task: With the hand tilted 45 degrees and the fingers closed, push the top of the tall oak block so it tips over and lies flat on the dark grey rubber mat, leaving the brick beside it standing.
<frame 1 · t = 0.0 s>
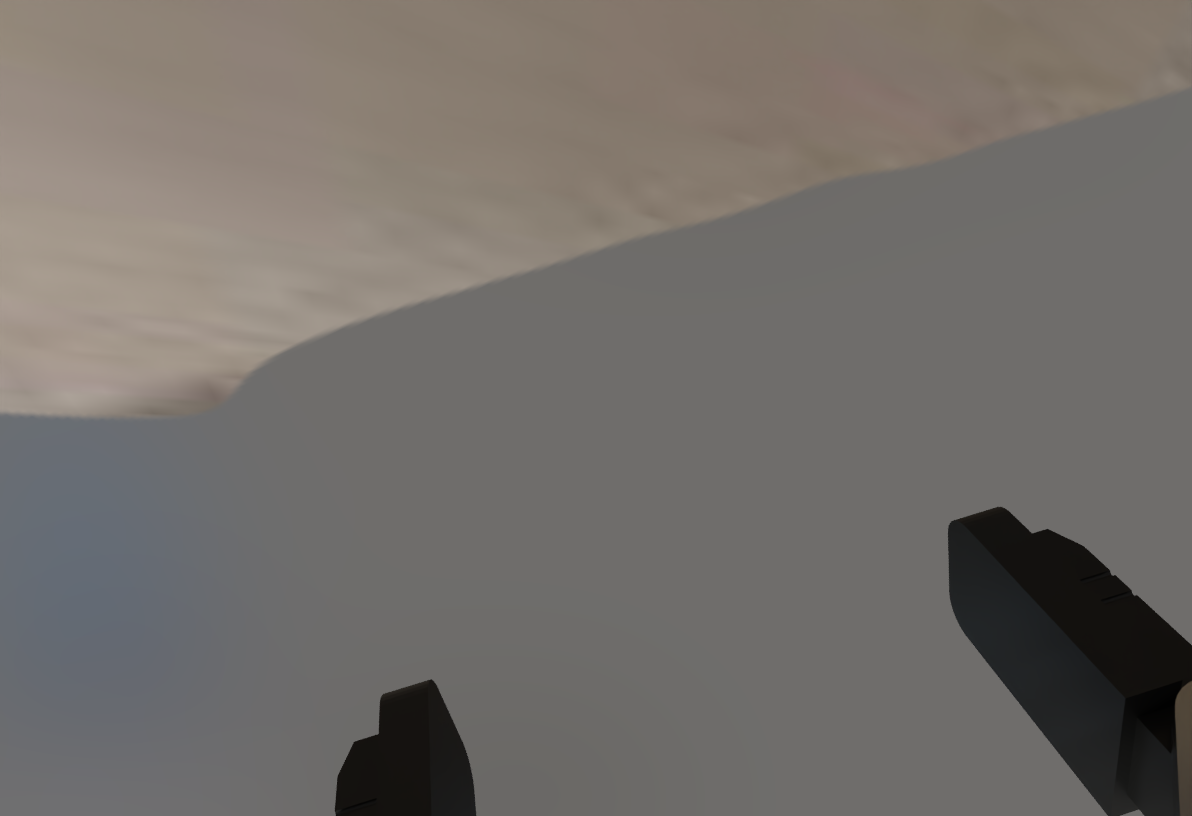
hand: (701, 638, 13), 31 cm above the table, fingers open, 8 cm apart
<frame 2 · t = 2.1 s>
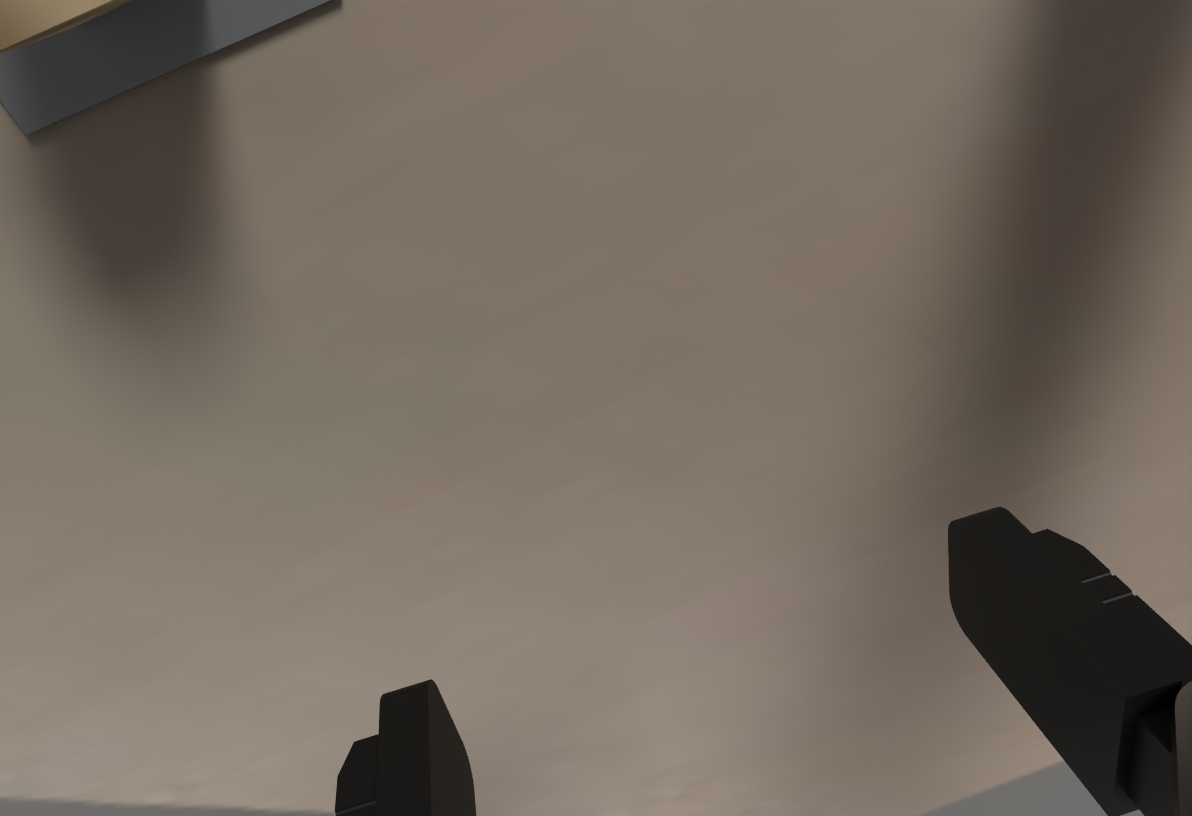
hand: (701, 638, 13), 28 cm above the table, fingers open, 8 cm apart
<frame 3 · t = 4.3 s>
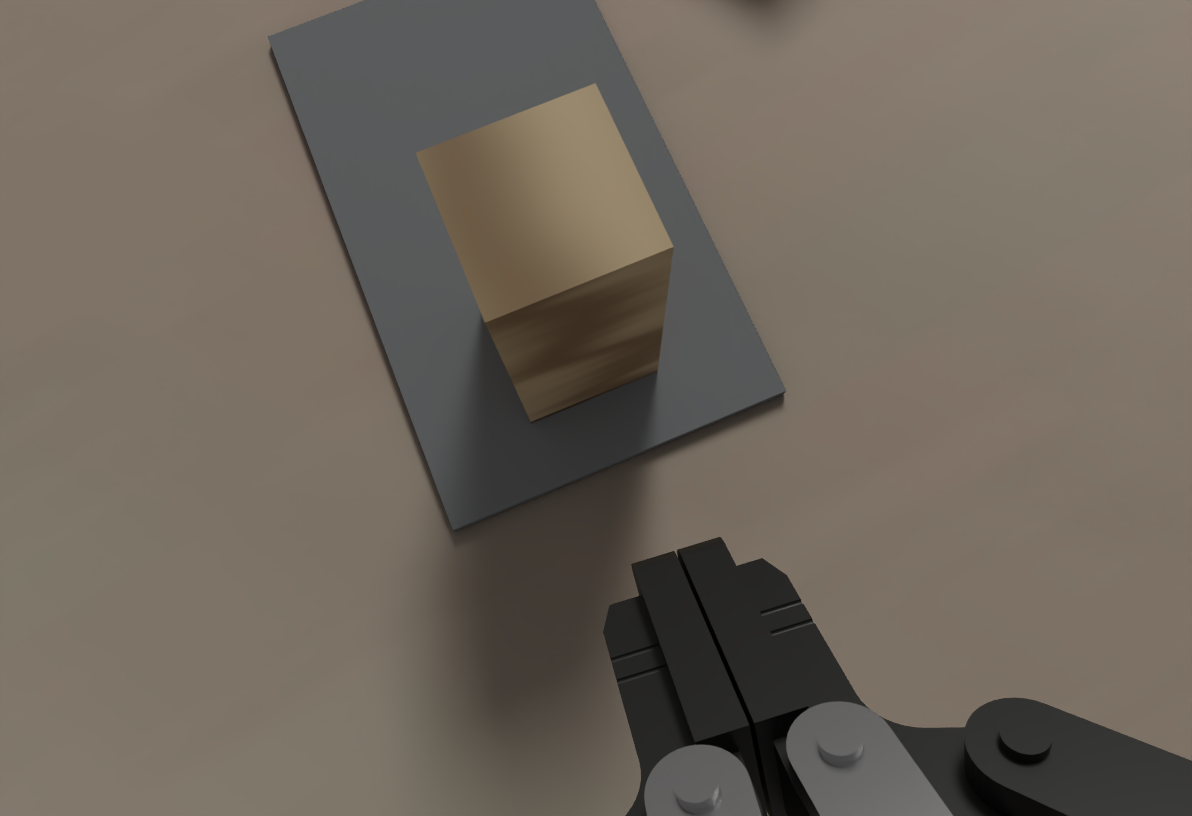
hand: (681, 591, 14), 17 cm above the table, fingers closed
mat: (511, 207, 35), on the table
oak block: (569, 337, 33), resting on mat
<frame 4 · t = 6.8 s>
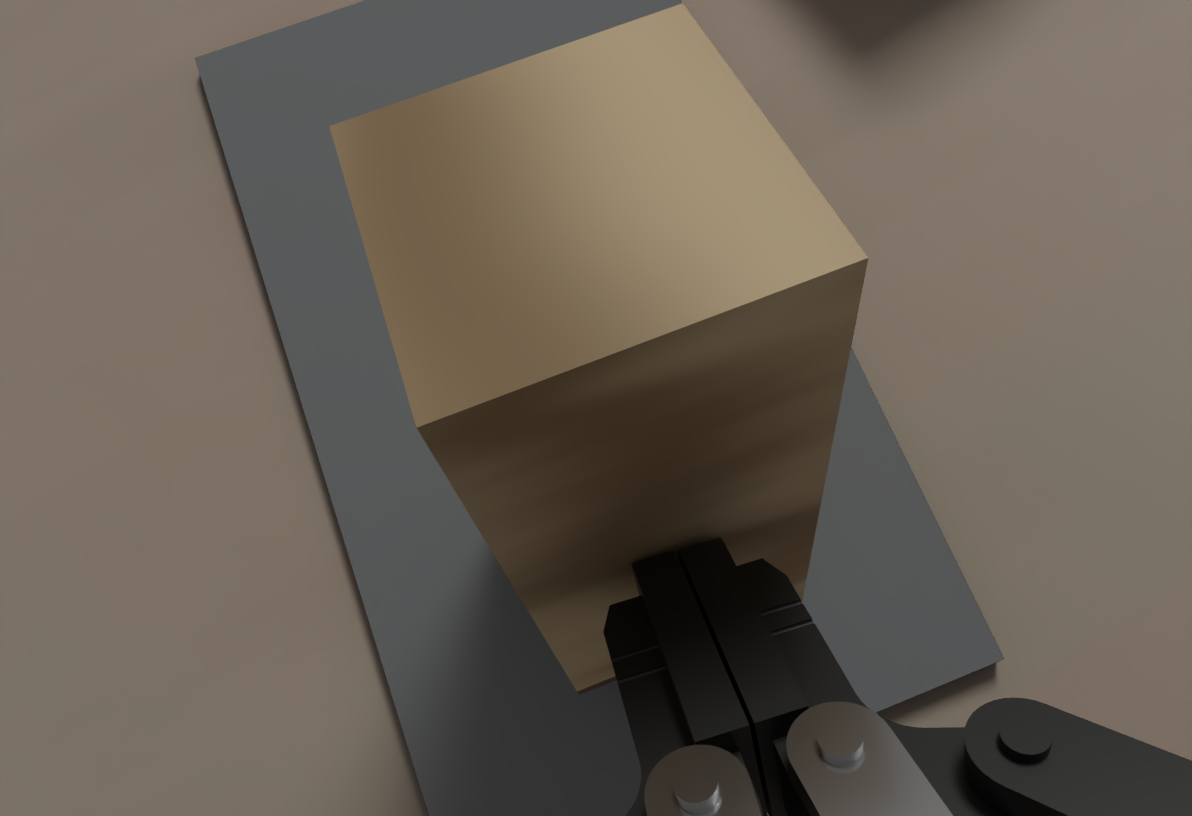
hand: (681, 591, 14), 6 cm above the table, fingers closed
mat: (558, 332, 22), on the table
oak block: (647, 546, 20), point 1 cm above the table, tilted 18°, touching mat
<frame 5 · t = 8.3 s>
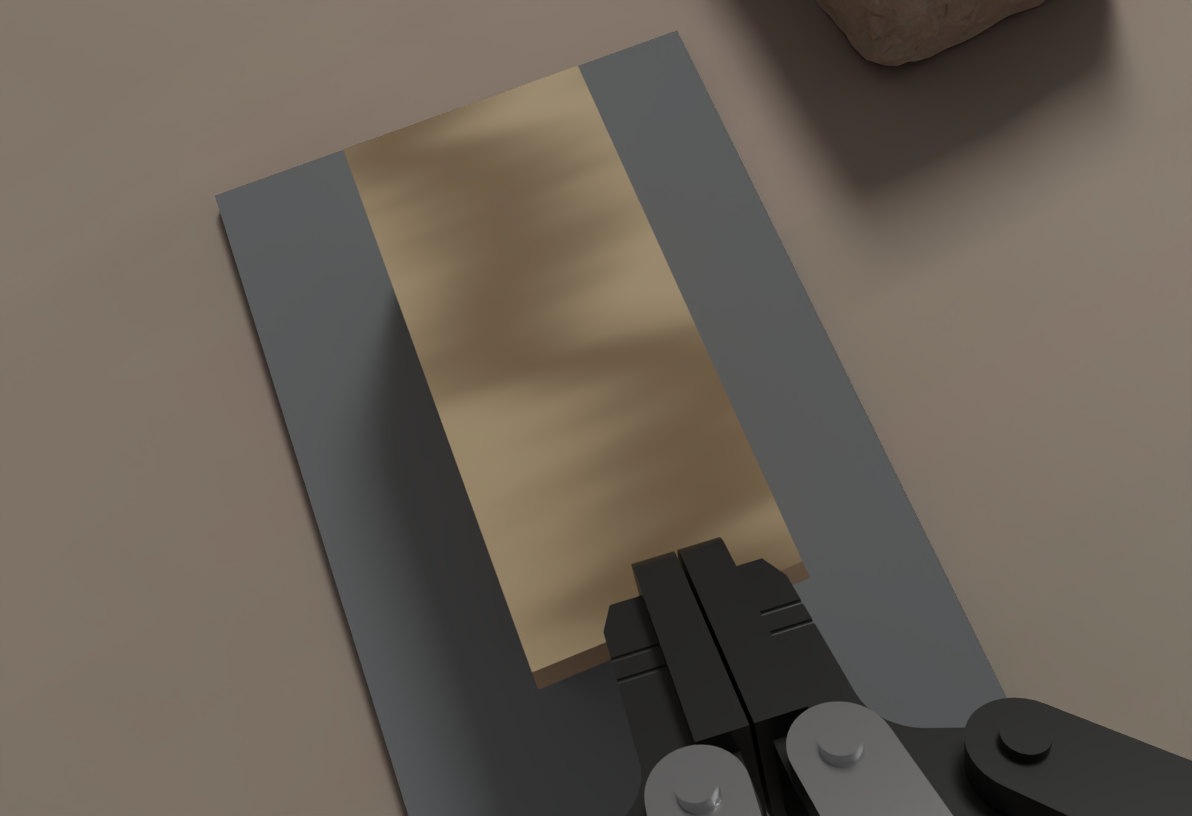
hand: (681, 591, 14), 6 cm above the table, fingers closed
mat: (604, 496, 21), on the table
oak block: (667, 634, 17), point 3 cm above the table, tilted 90°, touching mat
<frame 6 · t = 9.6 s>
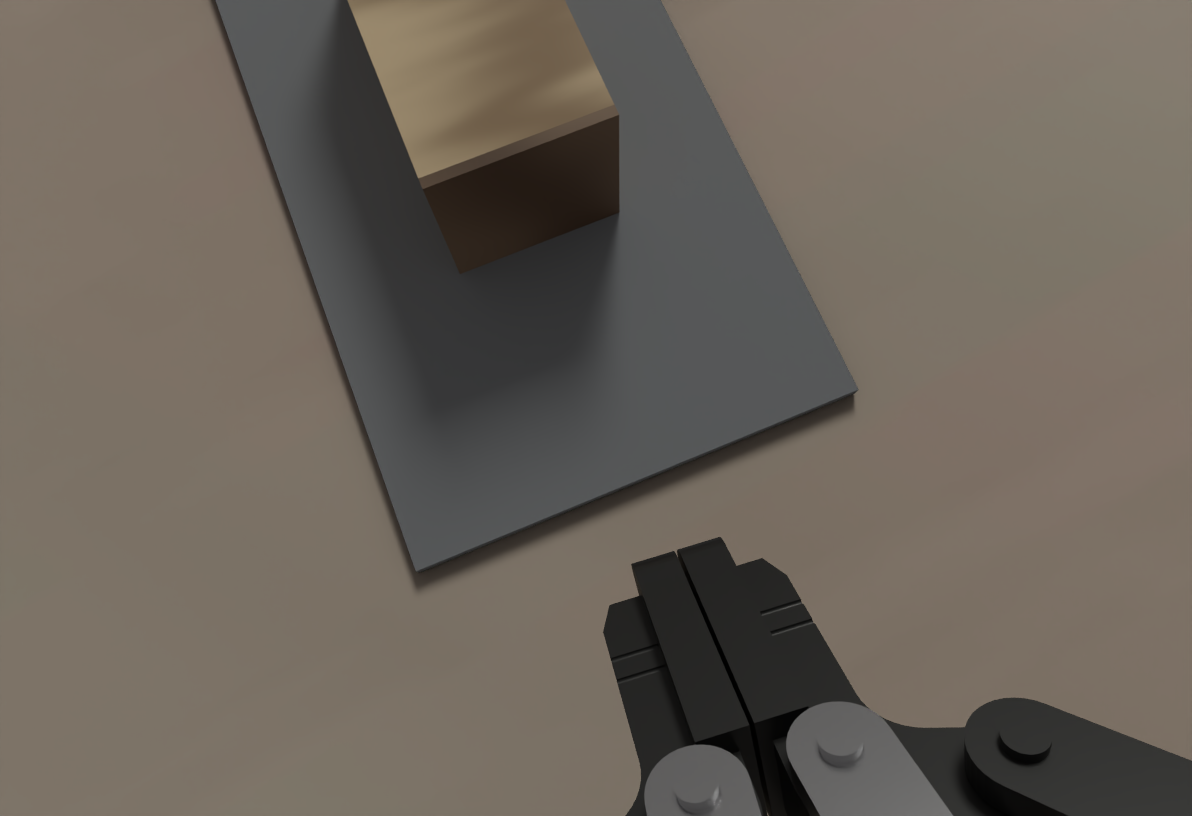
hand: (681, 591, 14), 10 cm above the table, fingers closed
mat: (500, 152, 27), on the table
oak block: (532, 202, 23), point 3 cm above the table, tilted 90°, touching mat
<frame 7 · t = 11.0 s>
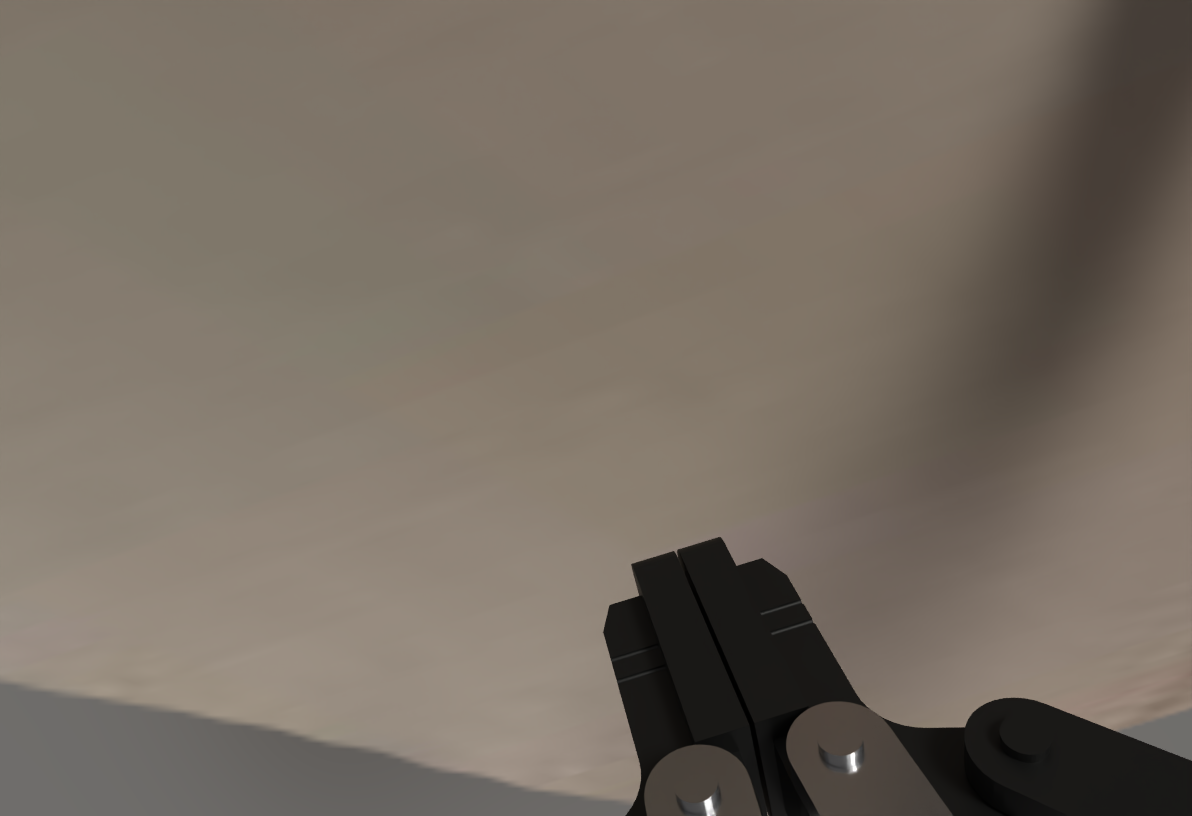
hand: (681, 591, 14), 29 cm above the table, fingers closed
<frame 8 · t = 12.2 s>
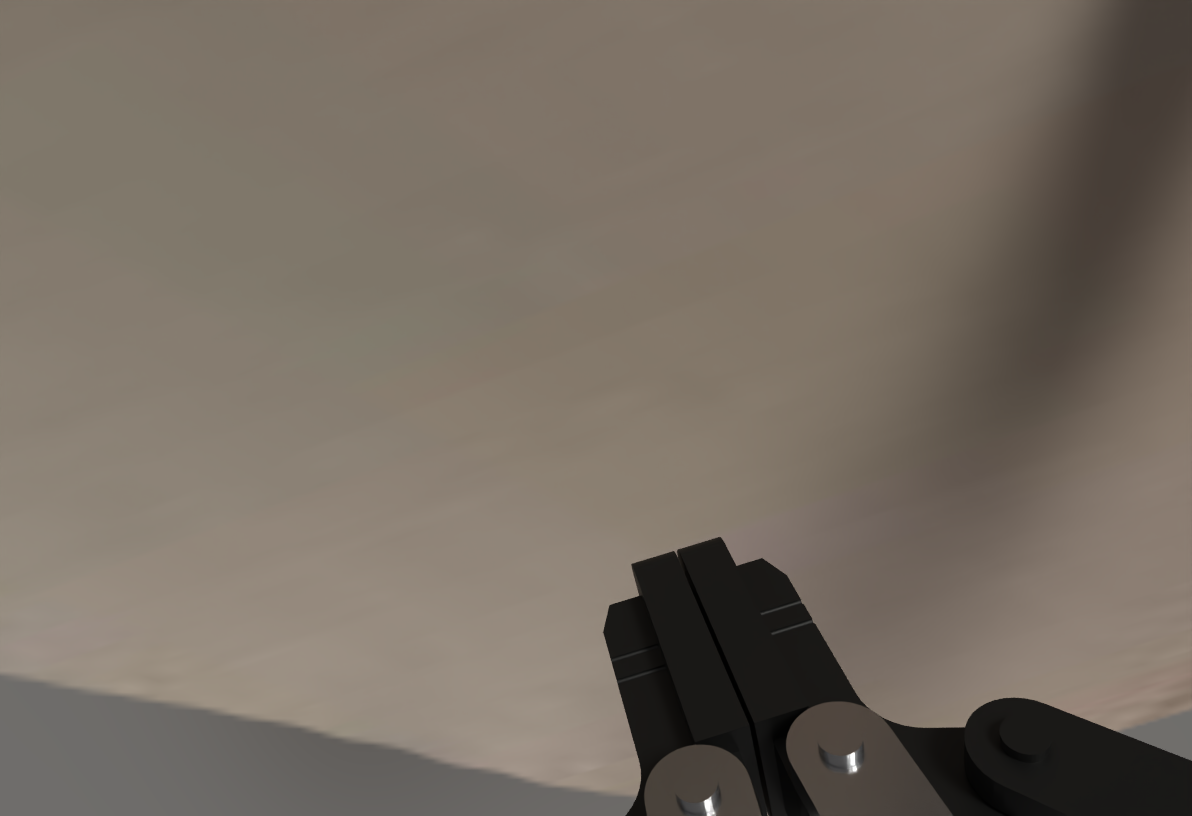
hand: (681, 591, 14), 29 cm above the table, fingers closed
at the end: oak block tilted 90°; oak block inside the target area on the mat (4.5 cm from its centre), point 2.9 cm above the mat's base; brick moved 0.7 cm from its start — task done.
